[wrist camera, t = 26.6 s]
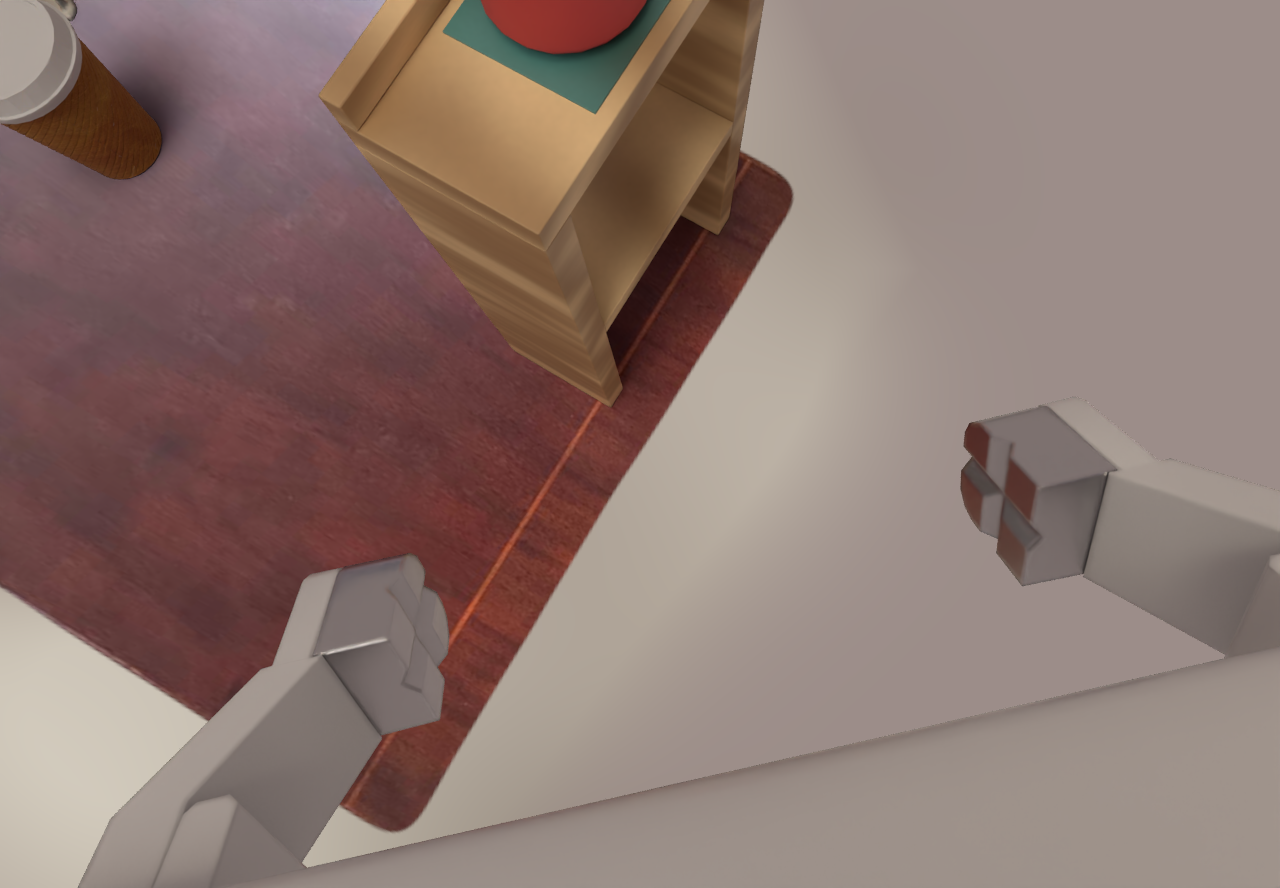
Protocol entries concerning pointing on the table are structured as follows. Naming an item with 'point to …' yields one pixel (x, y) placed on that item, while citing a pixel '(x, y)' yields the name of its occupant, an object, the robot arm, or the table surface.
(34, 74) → the disposable coffee cup
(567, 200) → the shelf
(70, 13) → the figurine
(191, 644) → the table surface
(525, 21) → the beer can
